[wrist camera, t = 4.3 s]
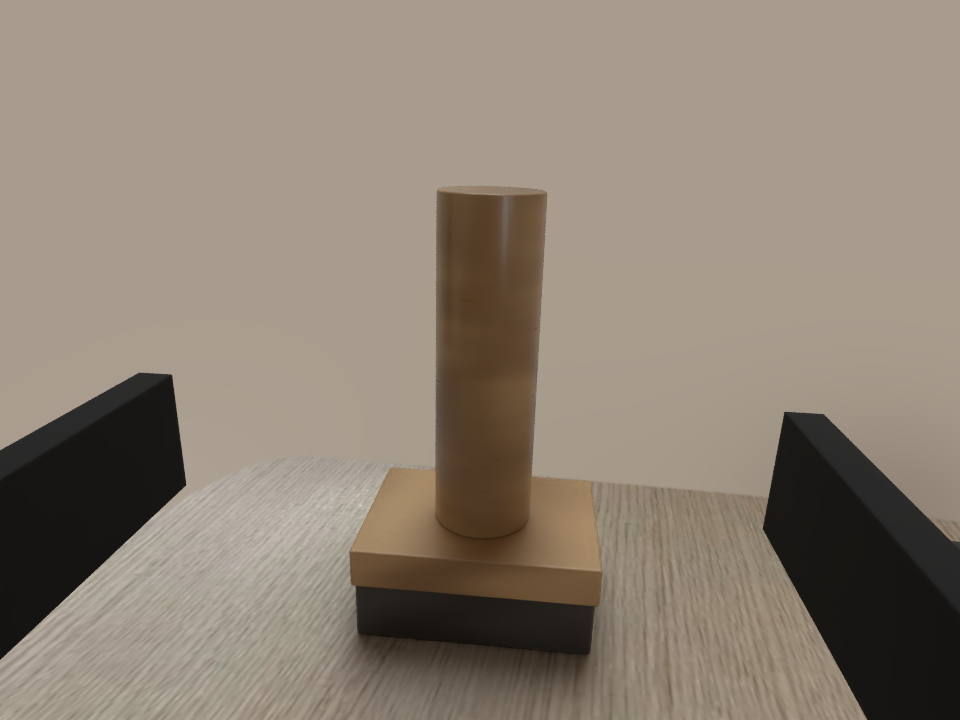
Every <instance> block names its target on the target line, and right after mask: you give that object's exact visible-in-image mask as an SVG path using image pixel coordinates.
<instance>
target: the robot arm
mask: <svg viewBox="0 0 960 720" xmlns="http://www.w3.org/2000/svg"><path fill="white" fill-rule="evenodd" d="M185 486H186V479H185V471H184V464H183V456H182V448H181V441H180V434H179V426H178V418H177V411H176V402H175V395H174V387H173V379H172V375H168V374H153V373H138V374H136V375H134V376H133V377H131V378H129V379H127V380H125V381H124V382H122V383H120V384H118V385H116V386H115V387H113V388H111V389H109V390H107V391H106V392H104V393H102V394H100V395H98V396H97V397H95V398H93V399H91V400H89V401H88V402H86V403H84V404H82V405H80V406H79V407H77V408H75V409H74V410H72V411H70V412H68V413H66V414H64V415H63V416H61V417H59V418H57V419H56V420H54V421H52V422H50V423H48V424H47V425H45V426H43V427H41V428H39V429H38V430H36V431H34V432H32V433H30V434H29V435H27V436H25V437H24V438H21V439H20V440H18V441H16V442H14V443H13V444H11V445H9V446H7V447H5V448H4V449H2V450H0V660H1V659H2V658H3V657H4V656H5V655H6V654H7V653H8V652H9V651H10V650H11V649H12V648H13V647H14V646H16V645H17V644H18V643H19V642H20V641H21V640H22V639H23V638H24V637H25V636H26V635H27V634H28V633H29V632H30V631H32V630H33V629H34V628H35V627H36V626H37V625H38V624H39V623H40V622H41V621H42V620H43V619H44V618H45V617H46V616H47V615H49V614H50V613H51V612H52V611H53V610H54V609H55V608H56V607H57V606H58V605H59V604H60V603H61V602H62V601H63V600H65V599H66V598H67V597H68V596H69V595H70V594H71V593H72V592H73V591H74V590H75V589H76V588H77V587H78V586H79V585H80V584H82V583H83V582H84V581H85V580H86V579H87V578H88V577H89V576H90V575H91V574H92V573H93V572H94V571H95V570H96V569H98V568H99V567H100V566H101V565H102V564H103V563H104V562H105V561H106V560H107V559H108V558H109V557H110V556H111V555H112V554H113V553H115V552H116V551H117V550H118V549H119V548H120V547H121V546H122V545H123V544H124V543H125V542H126V541H127V540H128V539H129V538H131V537H132V536H133V535H134V534H135V533H136V532H137V531H138V530H139V529H140V528H141V527H142V526H143V525H144V524H145V523H146V522H148V521H149V520H150V519H151V518H152V517H153V516H154V515H155V514H156V513H157V512H158V511H159V510H160V509H161V508H162V507H163V506H165V505H166V504H167V503H168V502H169V501H170V500H171V499H172V498H173V497H174V496H175V495H176V494H177V493H178V492H179V491H180V490H182V489H183V488H184V487H185ZM763 530H764V532H765V534H766V536H767V537H768V539H769V541H770V543H771V545H772V547H773V548H774V550H775V552H776V554H777V556H778V557H779V559H780V561H781V563H782V565H783V567H784V568H785V570H786V572H787V574H788V576H789V578H790V579H791V581H792V583H793V585H794V587H795V588H796V590H797V592H798V594H799V596H800V598H801V599H802V601H803V603H804V605H805V607H806V609H807V610H808V612H809V614H810V616H811V618H812V619H813V621H814V623H815V625H816V627H817V629H818V630H819V632H820V634H821V636H822V638H823V640H824V641H825V643H826V645H827V647H828V649H829V650H830V652H831V654H832V656H833V658H834V660H835V661H836V663H837V665H838V667H839V669H840V671H841V672H842V674H843V676H844V678H845V680H846V681H847V683H848V685H849V687H850V689H851V691H852V692H853V694H854V696H855V698H856V700H857V702H858V703H859V705H860V707H861V709H862V711H863V712H864V714H865V716H866V718H867V720H960V542H955V541H950V540H949V539H948V538H947V537H946V536H945V535H944V534H943V533H942V532H941V531H940V530H939V529H938V528H937V527H936V526H935V525H934V524H933V523H932V522H931V521H930V520H929V519H928V518H927V517H926V516H925V515H924V514H923V513H922V512H921V511H920V510H919V509H918V508H917V507H916V506H915V505H914V504H913V503H912V502H911V501H910V500H909V499H908V498H907V497H906V496H905V495H904V494H903V493H902V492H901V491H900V490H899V489H898V488H897V487H896V486H895V485H894V484H893V483H892V482H891V481H890V480H889V479H888V478H887V477H886V476H885V475H884V474H883V473H882V472H881V471H880V470H879V469H878V468H877V467H876V466H875V465H874V464H873V463H872V462H871V461H870V460H869V459H868V458H867V457H866V456H865V455H864V454H863V453H862V452H861V451H860V450H859V449H858V448H857V447H856V446H855V445H854V444H853V443H852V442H851V441H850V440H849V439H848V438H847V437H846V436H845V435H844V434H843V433H842V432H841V431H840V430H839V429H838V428H837V427H836V426H835V425H834V424H833V423H832V422H831V421H830V420H829V419H828V418H827V417H826V416H825V415H824V414H811V413H795V412H784V418H783V423H782V428H781V434H780V439H779V444H778V450H777V455H776V461H775V466H774V471H773V477H772V482H771V488H770V493H769V499H768V504H767V509H766V515H765V520H764V526H763Z"/></svg>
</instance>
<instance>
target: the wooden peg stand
mask: <svg viewBox="0 0 960 720" xmlns="http://www.w3.org/2000/svg"><path fill="white" fill-rule="evenodd" d="M546 206H547V192H546V191H543V190H537V189H529V188H516V187H494V186H492V187H491V186H455V187H442V188H439V189H437V229H436V230H437V231H436V233H437V234H436V252H437V253H436V467H435V471H433V470H419V469H404V468H390V469H389V471H388V474H387V476H386V478H385V480H384V482H383V484H382V486H381V488H380V490H379V492H378V494H377V496H376V498H375V500H374V502H373V504H372V506H371V508H370V511H369V513H368V515H367V517H366V519H365V521H364V523H363V525H362V527H361V529H360V531H359V533H358V535H357V537H356V539H355V541H354V543H353V545H352V548H351V550H350V573H351V585H353V586H356V606H357V630H358V633H361V634H372V635H383V636H394V637H405V638H416V639H426V640H437V641H448V642H459V643H470V644H481V645H492V646H503V647H514V648H524V649H535V650H546V651H557V652H568V653H579V654H589V653H590V650H591V640H592V629H593V619H594V608H595V606H598V605H599V600H600V590H601V579H602V566H601V558H600V550H599V542H598V534H597V526H596V518H595V510H594V502H593V494H592V487H591V482H590V481H577V480H562V479H548V478H534V477H532V459H533V441H534V424H535V406H536V386H537V370H538V351H539V331H540V315H541V298H542V297H541V296H542V280H543V262H544V260H543V259H544V244H545V226H546V225H545V224H546V208H547V207H546Z"/></svg>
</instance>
